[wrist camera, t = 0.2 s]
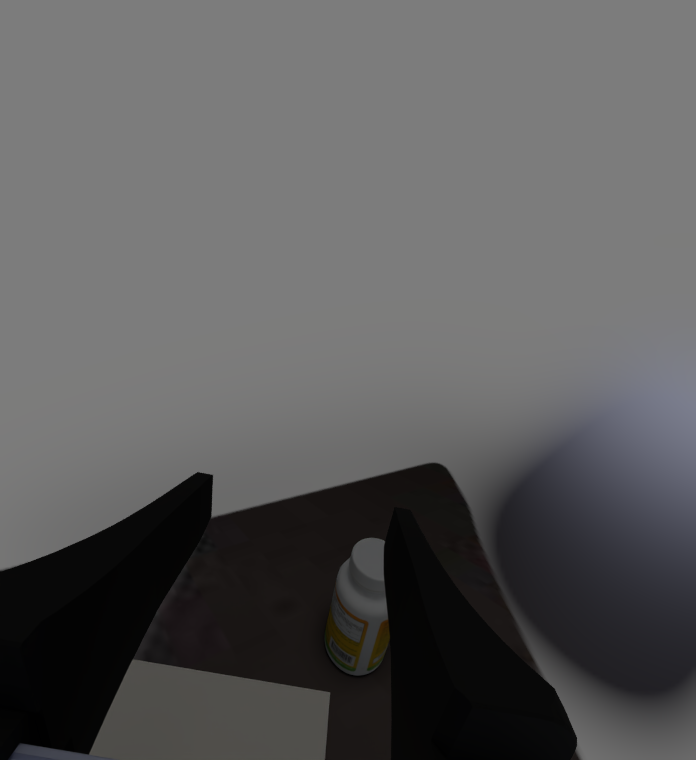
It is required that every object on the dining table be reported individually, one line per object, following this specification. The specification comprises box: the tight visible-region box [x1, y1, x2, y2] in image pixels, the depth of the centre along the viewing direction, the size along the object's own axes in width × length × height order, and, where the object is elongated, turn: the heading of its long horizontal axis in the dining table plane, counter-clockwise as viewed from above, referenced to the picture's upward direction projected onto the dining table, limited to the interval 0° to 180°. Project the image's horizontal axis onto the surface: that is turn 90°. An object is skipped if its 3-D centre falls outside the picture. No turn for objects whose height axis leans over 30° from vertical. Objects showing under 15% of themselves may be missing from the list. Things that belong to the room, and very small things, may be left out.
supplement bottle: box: [325, 538, 390, 675], centre depth 28 cm, size 5×5×10 cm
